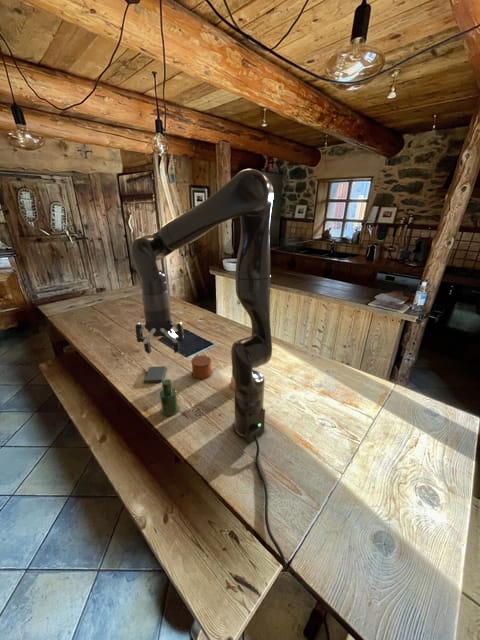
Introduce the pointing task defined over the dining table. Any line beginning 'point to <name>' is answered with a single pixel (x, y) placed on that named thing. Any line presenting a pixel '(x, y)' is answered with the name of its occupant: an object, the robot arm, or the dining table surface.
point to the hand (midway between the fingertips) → (162, 352)
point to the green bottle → (168, 399)
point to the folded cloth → (155, 374)
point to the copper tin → (201, 367)
